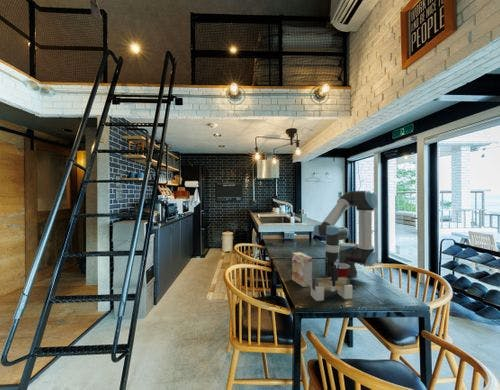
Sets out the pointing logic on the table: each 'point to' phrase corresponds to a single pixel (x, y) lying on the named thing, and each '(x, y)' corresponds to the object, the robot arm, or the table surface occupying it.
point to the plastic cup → (343, 269)
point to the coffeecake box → (302, 269)
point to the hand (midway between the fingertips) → (330, 289)
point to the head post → (317, 293)
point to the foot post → (346, 292)
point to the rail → (327, 283)
